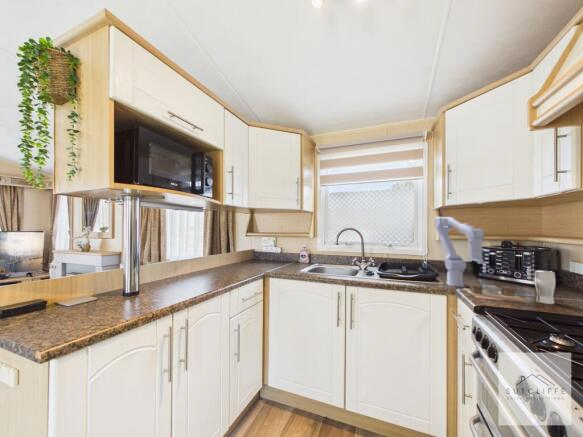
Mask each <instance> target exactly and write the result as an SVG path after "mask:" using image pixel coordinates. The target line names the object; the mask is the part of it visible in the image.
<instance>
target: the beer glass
mask: <svg viewBox="0 0 583 437" xmlns="http://www.w3.org/2000/svg"><path fill="white" fill-rule="evenodd" d="M533 279H534V286H535V290H536V295H537V296H536V298H535V301H536V302H537V303H542V304H547V305H548V304H549V305H555V300H554V292H555V288H556V274H555V272H554V271H550V270H540V269H537V270H536V269H535V270H534V278H533Z"/></svg>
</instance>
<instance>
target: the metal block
mask: <svg viewBox="0 0 583 437" xmlns="http://www.w3.org/2000/svg"><path fill="white" fill-rule="evenodd" d="M484 285H485V289H484V290H485V292H486V293H488V294H492V295H498V291H499V287H498V286H497V285H492V284H491V285H490V284H484Z"/></svg>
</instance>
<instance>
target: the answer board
mask: <svg viewBox="0 0 583 437" xmlns="http://www.w3.org/2000/svg"><path fill="white" fill-rule="evenodd" d="M462 290H464V291H465V292H467V293H469V294H470V295H471V296H473V297H474V298H477V299H487V300H498V301H499V300H500V301H510V302H518V303H519V302H520V303H521V302H522V303H530V301H529V300H527V299H525V298H523V297H520V296H518V295H517V294H515V296H505V295H503V294H501V290H498V295H492V294H488V293H486V292H485V289H483V288H482V294H480V293H473V292H471V291H470V288H467V287H462Z"/></svg>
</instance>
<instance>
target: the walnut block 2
mask: <svg viewBox="0 0 583 437" xmlns="http://www.w3.org/2000/svg"><path fill="white" fill-rule="evenodd" d="M515 290H516V289H515V288H514V287H512V286H504V285H501V286H500V291H501V294H503V295H505V296H515V295H516V293H515Z"/></svg>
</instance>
